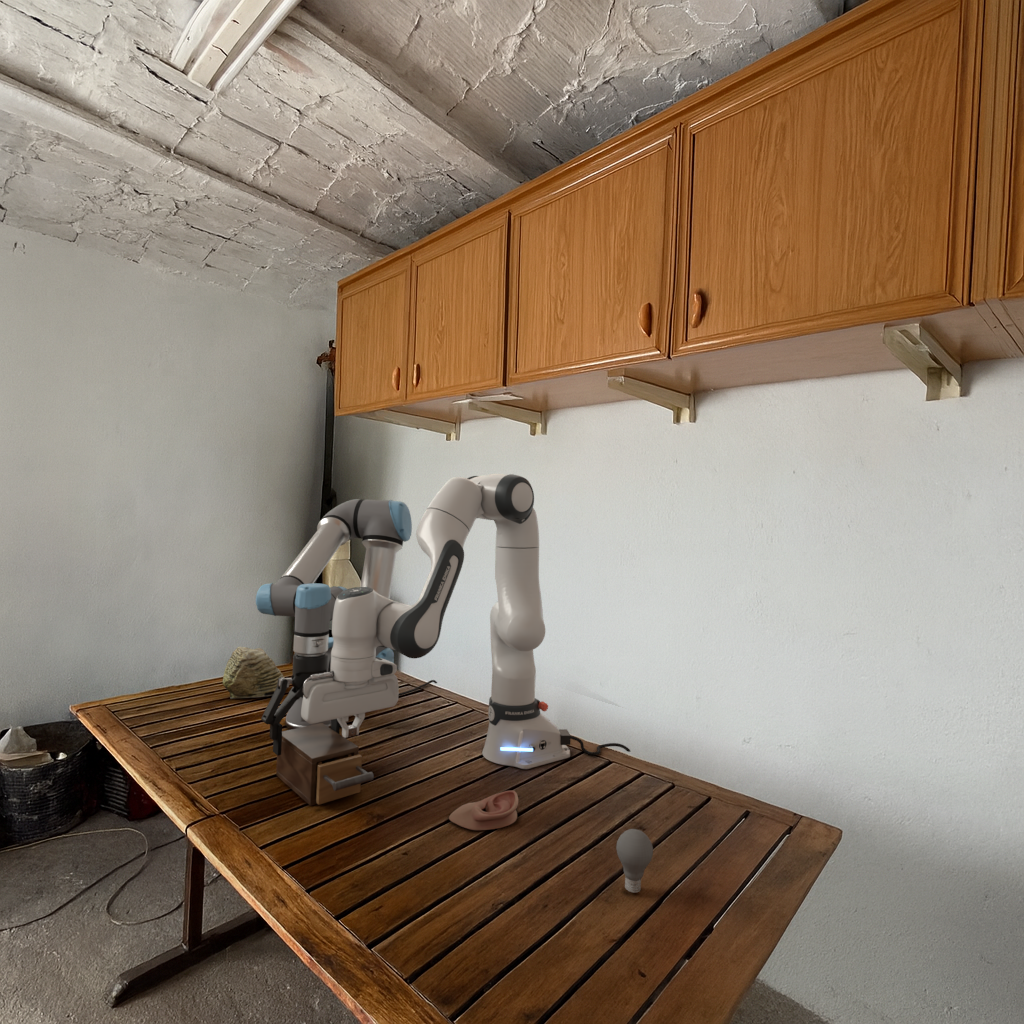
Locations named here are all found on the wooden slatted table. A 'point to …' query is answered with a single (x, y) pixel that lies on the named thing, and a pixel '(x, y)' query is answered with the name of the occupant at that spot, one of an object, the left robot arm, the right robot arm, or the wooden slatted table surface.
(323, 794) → the drawer
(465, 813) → the anatomical model
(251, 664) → the fossil
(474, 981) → the wooden slatted table surface
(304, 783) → the cabinet
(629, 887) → the light bulb
